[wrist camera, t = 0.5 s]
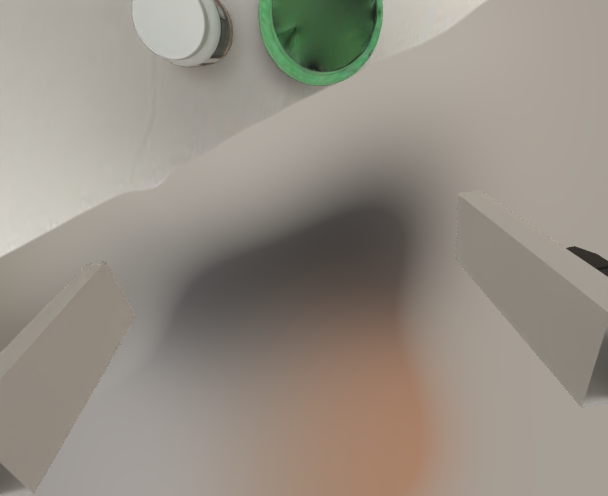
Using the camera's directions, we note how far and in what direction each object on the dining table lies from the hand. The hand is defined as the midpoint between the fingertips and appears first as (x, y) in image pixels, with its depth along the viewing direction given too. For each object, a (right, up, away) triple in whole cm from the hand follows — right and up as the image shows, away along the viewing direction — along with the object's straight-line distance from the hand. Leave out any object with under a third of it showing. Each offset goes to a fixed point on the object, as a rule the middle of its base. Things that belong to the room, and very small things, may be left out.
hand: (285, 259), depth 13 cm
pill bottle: (-8, +20, +18) cm, 28 cm away
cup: (+1, +20, +19) cm, 28 cm away
